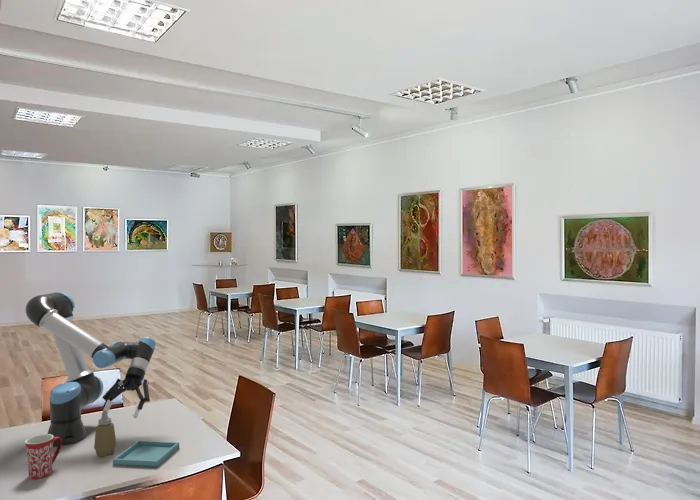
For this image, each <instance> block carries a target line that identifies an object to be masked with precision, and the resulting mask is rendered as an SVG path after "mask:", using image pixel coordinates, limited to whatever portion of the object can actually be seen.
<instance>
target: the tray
mask: <svg viewBox="0 0 700 500" xmlns="http://www.w3.org/2000/svg"><path fill="white" fill-rule="evenodd" d="M179 449H180V442H179V441H175V442H174V441H161V440H159V441H157V440H155V441H154V440H137V441H136V442H135V443H133V444H132V445H130V446H129V447H128V448H126V449H124V451H122V452H120V454H118V455H117V456H115V457H114V458H113V459H112V466H114V467H128V468H129V467H131V468H148V469H149V468H151V469H158V468H159V467H160V466H161V465H162V464H163V463H165V462H166V461H167V460H168V459H169V458H170V457H171V456H173V454H175V452H177V451H179Z"/></svg>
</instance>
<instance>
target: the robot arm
mask: <svg viewBox="0 0 700 500" xmlns="http://www.w3.org/2000/svg"><path fill="white" fill-rule="evenodd" d="M74 309H75V301H74V299H73V297H71V295H69V294H68V293H65V292H61V291H60V292H51V293H47V294H39V295H36V296H33V297H32V298H30V299H29V300H28V302H27V303H26V305H25V309H24V310H25V314H26V317H27V318H28V320H29V321H30V322H31V323H33V324H34V325H35V326H37V327H39V328H40V329H46V330H48V331H49V332H51V333H52V336H53V338H54V341H55V344H56V346H57V349H58V352H59V355H60V358H61V360H62V361H61V362H62V363H63V366H64V368H65V372H66V374H67V375H66V376H67V378H66V381H65V382H64V383H59V384H57V385H55V386H54V387H53V388H51V390H50V392H49V400H48V401H49V413H50V414H49V416H50V417H49V418H50V425H49V428H48V430H47V434H51V435H53V436H54V437H60V438H61V440H62V446H67V445H71V444H75V443H78V442H80V441H82V440H84V439H85V438H86V436H87V431H86V428H85V425H84V423H83V420H82V409H83V408H84V407H86V406H88V405H90V404H92V403H94V402H96V401H97V400H98V399H100V397H101V396H102V395H103V396H102V397H101V398H102V399H103V400H104V401H105V402H104V404H103V410H106V411H107V415H108V414H109V411H110V409H111V406H112V404H113V402H112V401H113V400H115V399H116V398H117V397H118V396H120V395H121V394H122V393H124V392H126V391H127V392H129V391H132V392H134V391H135V392H136V394H137V396H138V398H139V400H137V402H136V405H135V407H134V411H133V413H132V416H133V418H134V419H138V417H139V414H140V411H142V410H143V408H144V405H145V403H146V402H150V401H151V399H150V392H149V391H150V390H149V380H148V379H145V376H146V372H147V370H148V368H149V365H150V362H151V359H152V357H153V354H154V352H155V348H156V345H157V343H156V341H155V339H153V338H151V337H148V336H144V337H141V338H140V339H139V340H138V342H137V341H136V342H130V341H129V342H127V341H113V342H112V343H110V345H107V344H105V343H104V342H102V341H101V340H99V339H98V338H96V337H94V336H93V335H92V334H90V333H89V332H87V331H85V330H84V329H82V328H81V327H80V326H78V325H76V324H75V323H74V322H72V320H73V319H74V314H73V312H74ZM84 354H85V355H87V356H88V357H90V358H91V359H92V362H93V364H94V366H95V367H97V368H99V369H103V368H108V367H111V366H112V365H114V364H116V363H119V362H121V361H124V360H131V361H130V363H129V366H128V369H127V370H126V373H125V377H124V379H123V380H122V379H121V378H117V379H116V381H115V382H114V384H113V385H112V386H111V387H110V388H109V389H108V390H107V391H106V393H104V394H103V392H104V383H103V380H102V379H101V378H100V377H98V376H96V375H95V373H94V371H93V370H90V369H89V367H88V365H87V361H86V358H85V357H84ZM141 385H142V388H143V394H142V391H141V389H140V387H141ZM102 413H103V411H102ZM102 413H101V414H102ZM57 446H58V440H57V439H56V440H55V441H54V443H53V447H57Z"/></svg>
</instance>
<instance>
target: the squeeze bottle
mask: <svg viewBox="0 0 700 500" xmlns="http://www.w3.org/2000/svg"><path fill="white" fill-rule="evenodd" d="M102 412H103V413H101V417H100V418H99V419H98V422H97V423H98V424H97V425H96V427H95V434H94V445H93V448H94V450H95V453H96V455H97V457H98V458H107V457H110V456H113V455H114V453H115V450H116V446H117V437H116V431H115V424H114V423H113V422H112V418H111V417H109V416H108V414H107V411H106V410H104V409H103V410H102Z"/></svg>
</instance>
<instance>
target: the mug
mask: <svg viewBox="0 0 700 500" xmlns="http://www.w3.org/2000/svg"><path fill="white" fill-rule="evenodd" d="M56 439H57V440H58V446H56V449H55V452H54V451H53V450H54V449H53V448H54V446H53V443H54V441H55V440H56ZM24 443H25V450H26V458H27V460H26V461H27V469H28V476H29V479H31V480H36V479H37V480H38V479H39V480H40V479H43V478H46V477H48V476H50V475H51V474H52V473H53V464H54V462H55V461H56V459H57V458H58V455H59V453H60V451H61V450H62V446H63V445H62V440H61V438H60V437H54V436H53V435H51V434H48V433H42V434H38V435H33V436H31V437H29V438H27V439H26V440H24ZM53 453H54V454H53Z"/></svg>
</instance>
